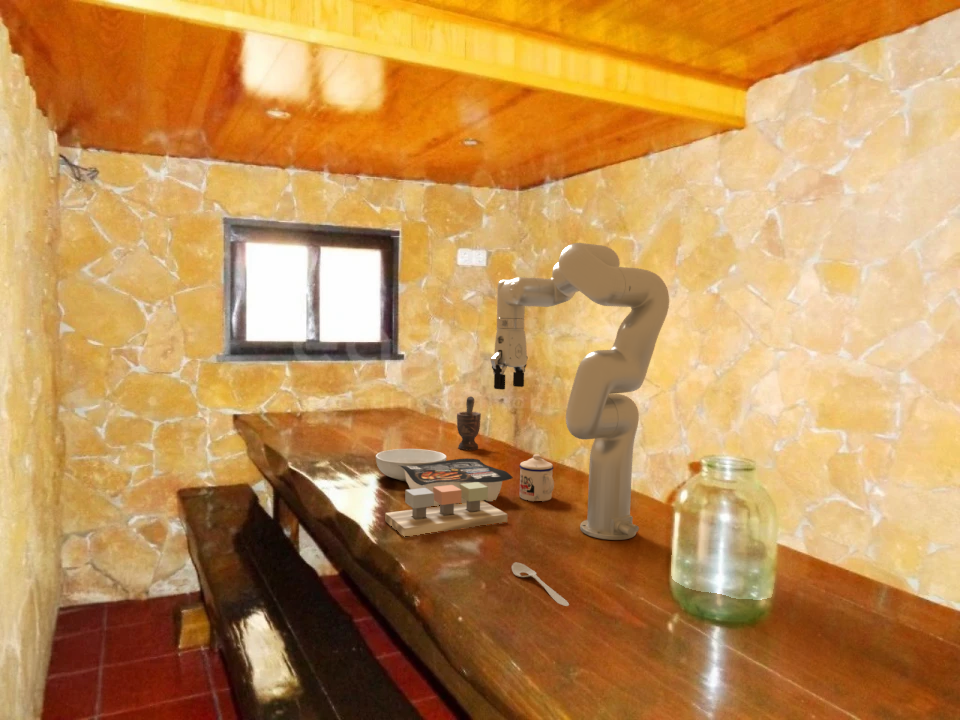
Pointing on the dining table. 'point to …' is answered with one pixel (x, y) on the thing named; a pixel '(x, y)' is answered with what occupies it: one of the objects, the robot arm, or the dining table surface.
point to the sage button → (474, 494)
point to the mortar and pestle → (468, 426)
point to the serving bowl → (405, 460)
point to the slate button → (419, 501)
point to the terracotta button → (447, 497)
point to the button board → (444, 519)
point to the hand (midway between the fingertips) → (509, 387)
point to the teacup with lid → (536, 479)
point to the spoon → (519, 568)
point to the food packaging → (456, 476)
